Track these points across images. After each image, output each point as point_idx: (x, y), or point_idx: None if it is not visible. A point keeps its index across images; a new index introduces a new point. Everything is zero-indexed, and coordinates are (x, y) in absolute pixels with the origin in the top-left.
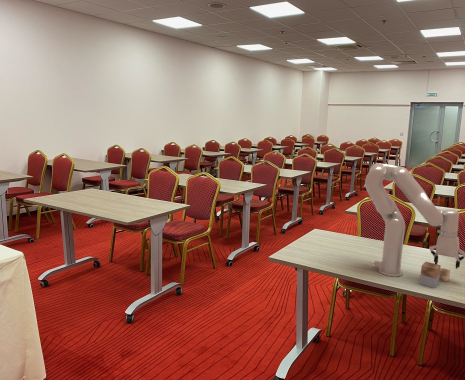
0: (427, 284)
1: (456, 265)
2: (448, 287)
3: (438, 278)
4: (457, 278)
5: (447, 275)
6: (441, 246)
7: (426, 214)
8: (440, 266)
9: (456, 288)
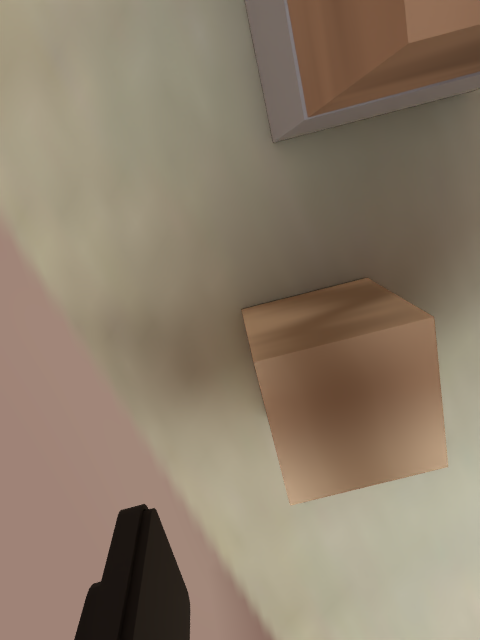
0: None
1: (121, 570)
2: (128, 145)
3: (278, 60)
4: (223, 507)
5: (249, 342)
6: None
7: None
8: (382, 59)
9: (53, 212)
